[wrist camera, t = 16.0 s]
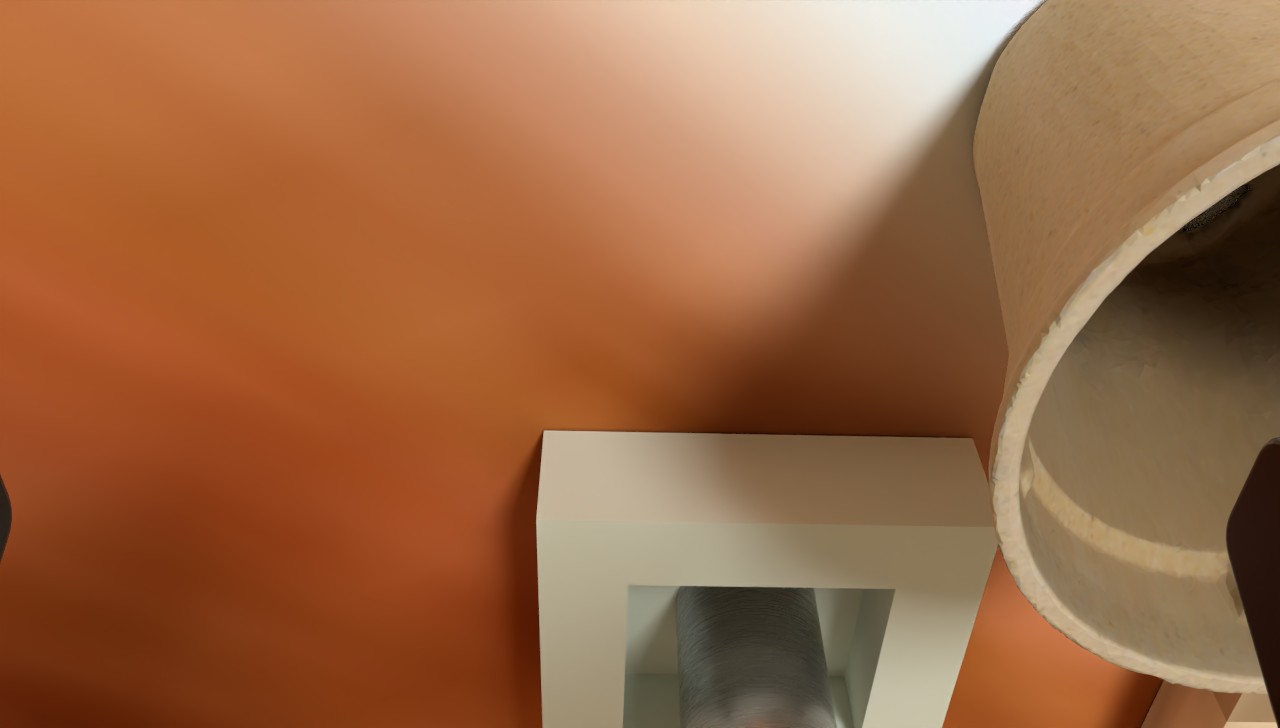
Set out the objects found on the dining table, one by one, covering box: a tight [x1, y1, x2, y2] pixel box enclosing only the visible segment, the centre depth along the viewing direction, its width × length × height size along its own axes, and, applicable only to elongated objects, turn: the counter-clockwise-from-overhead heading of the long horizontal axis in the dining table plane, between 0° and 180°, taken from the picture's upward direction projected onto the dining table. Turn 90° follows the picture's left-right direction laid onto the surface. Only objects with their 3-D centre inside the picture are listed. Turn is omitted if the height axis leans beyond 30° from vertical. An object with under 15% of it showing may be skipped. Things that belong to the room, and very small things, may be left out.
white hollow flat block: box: [536, 431, 998, 728], centre depth 26 cm, size 9×9×3 cm
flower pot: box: [973, 0, 1280, 694], centre depth 17 cm, size 9×9×9 cm
